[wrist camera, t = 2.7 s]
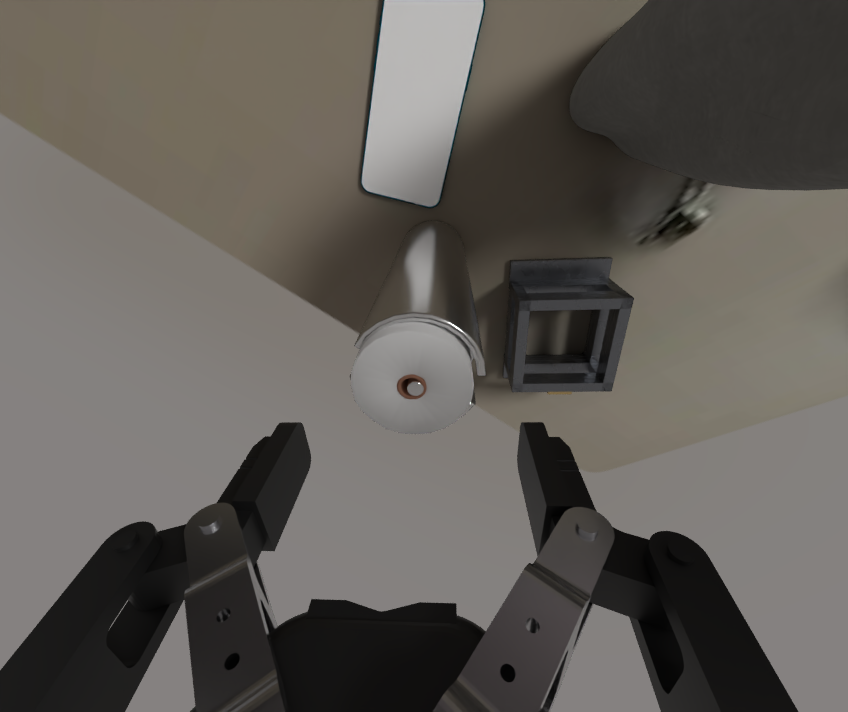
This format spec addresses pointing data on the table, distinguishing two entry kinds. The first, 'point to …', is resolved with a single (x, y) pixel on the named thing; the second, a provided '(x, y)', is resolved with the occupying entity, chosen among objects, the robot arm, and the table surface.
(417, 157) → the smartphone
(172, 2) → the table surface
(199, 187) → the table surface
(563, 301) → the collar bracket
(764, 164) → the vase
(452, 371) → the silver metal cylinder
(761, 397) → the table surface
